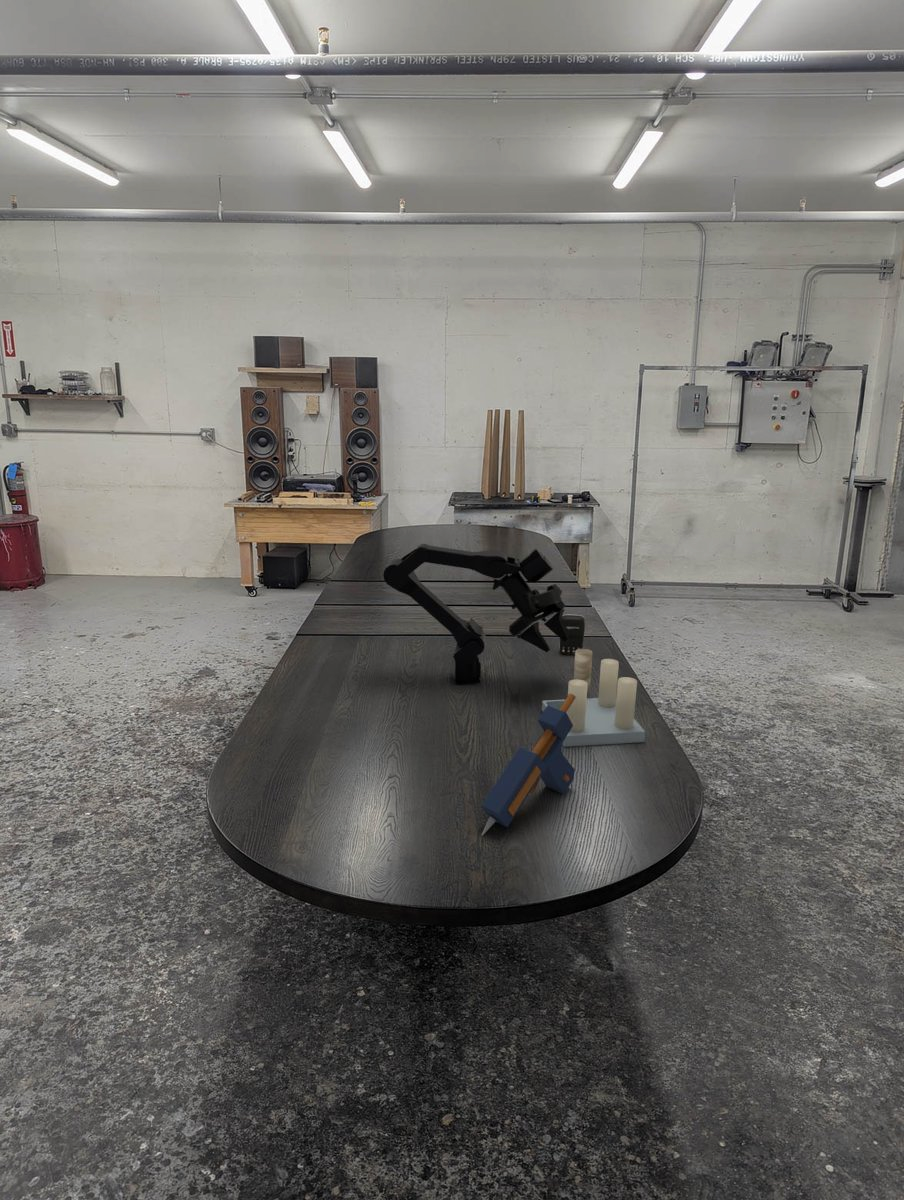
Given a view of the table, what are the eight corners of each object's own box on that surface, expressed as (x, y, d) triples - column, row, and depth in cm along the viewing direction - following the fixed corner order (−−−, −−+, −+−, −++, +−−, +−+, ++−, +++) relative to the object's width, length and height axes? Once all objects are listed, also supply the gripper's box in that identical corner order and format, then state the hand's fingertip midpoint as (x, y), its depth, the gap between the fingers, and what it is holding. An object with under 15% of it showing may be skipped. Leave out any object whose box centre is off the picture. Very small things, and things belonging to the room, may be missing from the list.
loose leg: (575, 706, 176) (579, 655, 173) (569, 699, 180) (572, 649, 176) (591, 704, 177) (595, 654, 173) (584, 697, 181) (588, 648, 177)
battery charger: (558, 655, 208) (560, 617, 205) (558, 651, 212) (560, 613, 209) (583, 657, 208) (586, 618, 204) (582, 652, 211) (585, 614, 208)
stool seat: (563, 746, 157) (567, 690, 153) (541, 710, 174) (544, 658, 170) (644, 741, 159) (649, 686, 155) (614, 706, 176) (619, 655, 172)
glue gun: (500, 863, 135) (468, 825, 125) (572, 726, 149) (548, 683, 139) (527, 875, 131) (497, 838, 122) (599, 734, 145) (576, 690, 135)
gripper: (521, 583, 170) (561, 638, 167) (560, 568, 184) (597, 618, 181) (492, 610, 177) (530, 663, 174) (532, 593, 191) (567, 642, 188)
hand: (557, 645), depth 179 cm, fingers open, 9 cm apart
